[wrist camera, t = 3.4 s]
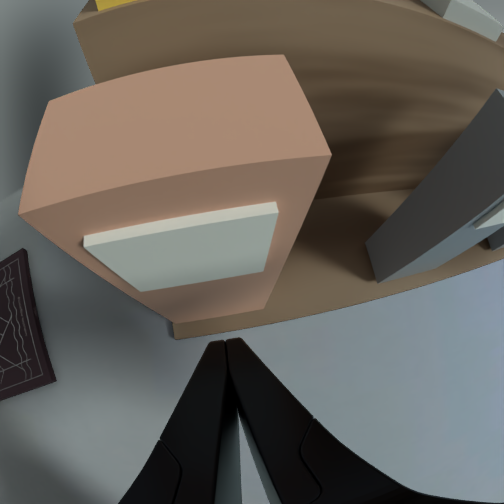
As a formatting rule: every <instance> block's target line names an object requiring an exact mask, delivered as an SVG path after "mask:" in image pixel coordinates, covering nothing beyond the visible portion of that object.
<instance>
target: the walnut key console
mask: <svg viewBox="0 0 504 504" xmlns="http://www.w3.org/2000/svg"><path fill="white" fill-rule="evenodd" d="M73 26H74V28H75V31H76V34H77V37H78V40H79V42H80V45H81V48H82V50H83V53H84V56H85V58H86V61H87V63H88V66H89V69H90V71H91V74H92V76H93V78H94V81H95V83H96V84H99V83H103V82H106V81H109V80H113V79H116V78H120V77H124V76H128V75H132V74H136V73H140V72H144V71H148V70H153V69H158V68H163V67H168V66H173V65H179V64H185V63H191V62H197V61H205V60H212V59H221V58H231V57H242V56H258V55H284V56H285V58H286V60H287V61H288V63H289V65H290V67H291V69H292V71H293V73H294V75H295V77H296V79H297V81H298V83H299V85H300V87H301V89H302V91H303V93H304V95H305V97H306V99H307V101H308V103H309V105H310V107H311V109H312V111H313V113H314V116H315V118H316V120H317V122H318V124H319V127H320V129H321V131H322V133H323V136H324V138H325V140H326V142H327V145H328V147H329V149H330V152H331V154H332V156H331V158H330V161H329V163H328V165H327V168H326V170H325V173H324V175H323V177H322V180H321V182H320V184H319V187H318V189H317V191H316V194H315V196H314V198H313V201H312V203H311V205H310V208H309V210H308V212H307V215H306V217H305V219H304V221H303V224H302V226H301V228H300V230H299V233H298V235H297V237H296V239H295V242H294V244H293V246H292V248H291V251H290V253H289V255H288V257H287V259H286V262H285V264H284V266H283V268H282V270H281V273H280V275H279V277H278V279H277V281H276V283H275V286H274V288H273V290H272V292H271V294H270V296H269V299H268V301H267V303H266V305H265V307H264V309H260V310H255V311H250V312H244V313H239V314H233V315H227V316H221V317H215V318H209V319H203V320H197V321H190V322H184V323H177V324H175V323H174V322H172V324H173V331H174V338H175V340H178V339H185V338H192V337H199V336H205V335H211V334H218V333H224V332H229V331H235V330H241V329H246V328H252V327H257V326H262V325H267V324H272V323H277V322H282V321H287V320H292V319H296V318H301V317H306V316H310V315H315V314H319V313H323V312H328V311H332V310H336V309H340V308H344V307H348V306H352V305H356V304H360V303H364V302H368V301H372V300H375V299H379V298H383V297H386V296H390V295H393V294H397V293H400V292H404V291H407V290H411V289H414V288H418V287H421V286H424V285H427V284H431V283H434V282H437V281H440V280H443V279H446V278H449V277H452V276H456V275H459V274H461V273H464V272H467V271H470V270H473V269H476V268H479V267H482V266H484V265H487V264H490V263H493V262H495V261H498V260H501V259H503V258H504V247H503V248H500V249H497V250H494V251H492V250H491V247H490V244H489V241H488V239H487V237H486V238H485V239H483V240H482V241H480V242H479V243H477V244H475V245H474V246H472V247H471V248H469V249H467V250H466V251H464V252H462V253H461V254H459V255H457V256H456V257H454V258H452V259H451V260H449V261H447V262H446V263H444V264H442V265H441V266H439V267H437V268H435V269H432V270H428V271H425V272H421V273H417V274H414V275H410V276H406V277H402V278H399V279H395V280H391V281H387V282H383V283H379V284H377V281H376V277H375V274H374V270H373V267H372V264H371V260H370V257H369V254H368V251H367V248H366V245H365V242H366V241H367V240H368V239H369V238H370V237H371V236H372V235H373V234H374V233H375V232H376V231H377V230H378V229H379V228H380V226H381V225H382V224H383V223H384V222H385V221H386V220H387V219H388V218H389V217H390V216H391V215H392V214H393V213H394V212H395V210H396V209H397V208H398V207H399V206H400V205H401V204H402V203H403V202H404V201H405V200H406V198H407V197H408V196H409V195H410V194H411V193H412V192H413V191H414V190H415V188H416V187H417V186H418V185H419V184H420V183H421V182H422V180H423V179H424V178H425V177H426V176H427V175H428V174H429V172H430V171H431V170H432V169H433V168H434V167H435V165H436V164H437V163H438V162H439V161H440V160H441V158H442V157H443V156H444V155H445V154H446V152H447V151H448V150H449V149H450V147H451V146H452V145H453V144H454V143H455V141H456V140H457V139H458V138H459V136H460V135H461V134H462V133H463V131H464V130H465V129H466V128H467V126H468V125H469V124H470V122H471V121H472V120H473V119H474V117H475V116H476V115H477V113H478V112H479V111H480V109H481V108H482V107H483V105H484V104H485V103H486V101H487V100H488V99H489V97H490V96H491V94H492V93H493V92H494V90H495V89H496V88H497V89H500V90H503V91H504V33H502V30H503V29H504V26H503V25H502V24H500V23H499V22H498V21H497V20H496V19H495V18H493V17H492V16H491V15H490V14H489V13H488V12H486V11H485V10H484V9H483V8H481V7H480V6H479V5H478V4H476V3H475V2H474V1H472V0H89V1H88V3H87V4H86V5H85V7H84V8H83V9H82V11H81V12H80V14H79V15H78V17H77V18H76V19H75V21H74V22H73Z"/></svg>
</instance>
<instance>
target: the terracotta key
mask: <svg viewBox="0 0 504 504" xmlns="http://www.w3.org/2000/svg"><path fill="white" fill-rule="evenodd" d="M331 156H332V154H331V152H330V149H329V147H328V145H327V142H326V140H325V138H324V136H323V133H322V131H321V129H320V127H319V124H318V122H317V120H316V118H315V116H314V113H313V111H312V109H311V107H310V105H309V103H308V101H307V99H306V97H305V95H304V93H303V91H302V89H301V87H300V85H299V83H298V81H297V79H296V77H295V75H294V73H293V71H292V69H291V67H290V65H289V63H288V61H287V60H286V58H285V56H284V55H258V56H242V57H231V58H221V59H212V60H205V61H197V62H191V63H185V64H179V65H173V66H168V67H163V68H158V69H153V70H148V71H144V72H140V73H136V74H132V75H128V76H124V77H120V78H116V79H113V80H109V81H106V82H103V83H99V84H96V85H93V86H90V87H87V88H84V89H81V90H78V91H75V92H72V93H70V94H67V95H64V96H61V97H59V98H56V99H54V100H51V101H49V103H48V105H47V108H46V111H45V113H44V116H43V119H42V122H41V125H40V128H39V131H38V134H37V137H36V140H35V144H34V147H33V151H32V154H31V158H30V161H29V166H28V170H27V174H26V178H25V182H24V186H23V191H22V196H21V201H20V206H19V212H18V215H19V216H20V217H21V218H23V219H24V220H25V221H26V222H27V223H29V224H30V225H31V226H32V227H34V228H35V229H36V230H37V231H39V232H40V233H41V234H42V235H44V236H45V237H46V238H48V239H49V240H50V241H52V242H53V243H54V244H56V245H57V246H58V247H60V248H61V249H62V250H64V251H65V252H66V253H68V254H69V255H70V256H72V257H73V258H74V259H76V260H77V261H79V262H80V263H81V264H83V265H84V266H86V267H87V268H89V269H90V270H91V271H93V272H94V273H96V274H97V275H99V276H100V277H102V278H103V279H105V280H106V281H108V282H109V283H111V284H112V285H114V286H115V287H117V288H118V289H120V290H121V291H123V292H124V293H126V294H128V295H129V296H131V297H132V298H134V299H135V300H137V301H139V302H140V303H142V304H143V305H145V306H147V307H148V308H150V309H152V310H153V311H155V312H157V313H158V314H160V315H162V316H163V317H165V318H167V319H168V320H170V321H172V322H174V323H175V324H177V323H184V322H190V321H197V320H203V319H209V318H215V317H221V316H227V315H233V314H239V313H244V312H250V311H255V310H260V309H264V307H265V305H266V303H267V301H268V299H269V296H270V294H271V292H272V290H273V288H274V286H275V283H276V281H277V279H278V277H279V275H280V273H281V270H282V268H283V266H284V264H285V262H286V259H287V257H288V255H289V253H290V251H291V248H292V246H293V244H294V242H295V239H296V237H297V235H298V233H299V230H300V228H301V226H302V224H303V221H304V219H305V217H306V215H307V212H308V210H309V208H310V205H311V203H312V201H313V198H314V196H315V194H316V191H317V189H318V187H319V184H320V182H321V180H322V177H323V175H324V173H325V170H326V168H327V165H328V163H329V161H330V158H331Z"/></svg>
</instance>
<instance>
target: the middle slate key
mask: <svg viewBox="0 0 504 504" xmlns="http://www.w3.org/2000/svg"><path fill="white" fill-rule="evenodd" d="M503 226H504V91H503V90H500V89H497V88H496V89H495V90H494V92H493V93H492V94H491V96H490V97H489V99H488V100H487V101H486V103H485V104H484V105H483V107H482V108H481V109H480V111H479V112H478V113H477V115H476V116H475V117H474V119H473V120H472V121H471V122H470V124H469V125H468V126H467V128H466V129H465V130H464V131H463V133H462V134H461V135H460V136H459V138H458V139H457V140H456V141H455V143H454V144H453V145H452V146H451V147H450V149H449V150H448V151H447V152H446V154H445V155H444V156H443V157H442V158H441V160H440V161H439V162H438V163H437V164H436V165H435V167H434V168H433V169H432V170H431V171H430V172H429V174H428V175H427V176H426V177H425V178H424V179H423V180H422V182H421V183H420V184H419V185H418V186H417V187H416V188H415V190H414V191H413V192H412V193H411V194H410V195H409V196H408V197H407V198H406V200H405V201H404V202H403V203H402V204H401V205H400V206H399V207H398V208H397V209H396V210H395V212H394V213H393V214H392V215H391V216H390V217H389V218H388V219H387V220H386V221H385V222H384V223H383V224H382V225H381V226H380V228H379V229H378V230H377V231H376V232H375V233H374V234H373V235H372V236H371V237H370V238H369V239H368V240H367V241H366V242H365V245H366V248H367V251H368V254H369V257H370V260H371V264H372V267H373V270H374V274H375V277H376V281H377V284H379V283H383V282H387V281H391V280H395V279H399V278H402V277H406V276H410V275H414V274H417V273H421V272H425V271H428V270H432V269H435V268H437V267H439V266H441V265H442V264H444V263H446V262H447V261H449V260H451V259H452V258H454V257H456V256H457V255H459V254H461V253H462V252H464V251H466V250H467V249H469V248H471V247H472V246H474V245H475V244H477V243H479V242H480V241H482V240H483V239H485V238H486V237H488V236H489V235H491V234H492V233H494V232H495V231H497V230H498V229H500V228H501V227H503Z"/></svg>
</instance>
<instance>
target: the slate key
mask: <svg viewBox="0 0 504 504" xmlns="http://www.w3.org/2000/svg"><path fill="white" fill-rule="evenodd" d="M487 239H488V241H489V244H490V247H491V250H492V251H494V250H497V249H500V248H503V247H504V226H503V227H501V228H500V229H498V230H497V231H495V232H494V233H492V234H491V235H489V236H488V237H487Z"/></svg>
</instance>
